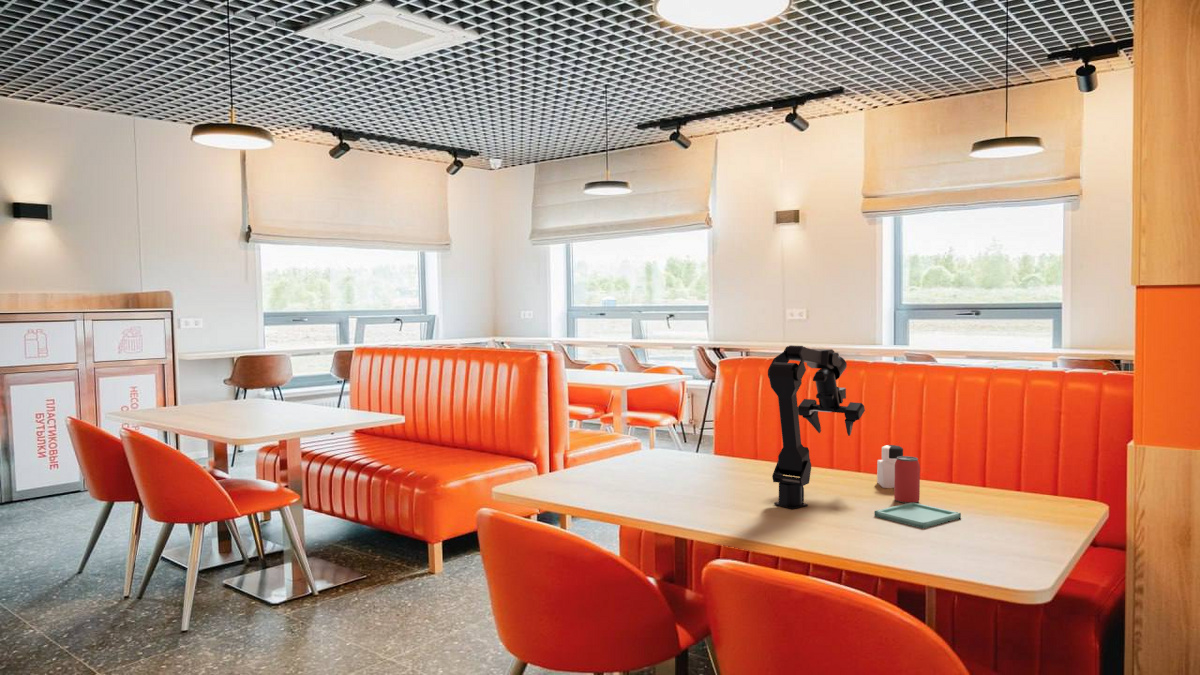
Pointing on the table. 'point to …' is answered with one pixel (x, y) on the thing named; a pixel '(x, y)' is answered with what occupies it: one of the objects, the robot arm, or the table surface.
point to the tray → (917, 514)
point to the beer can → (907, 479)
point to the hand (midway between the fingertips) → (834, 433)
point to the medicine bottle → (888, 465)
